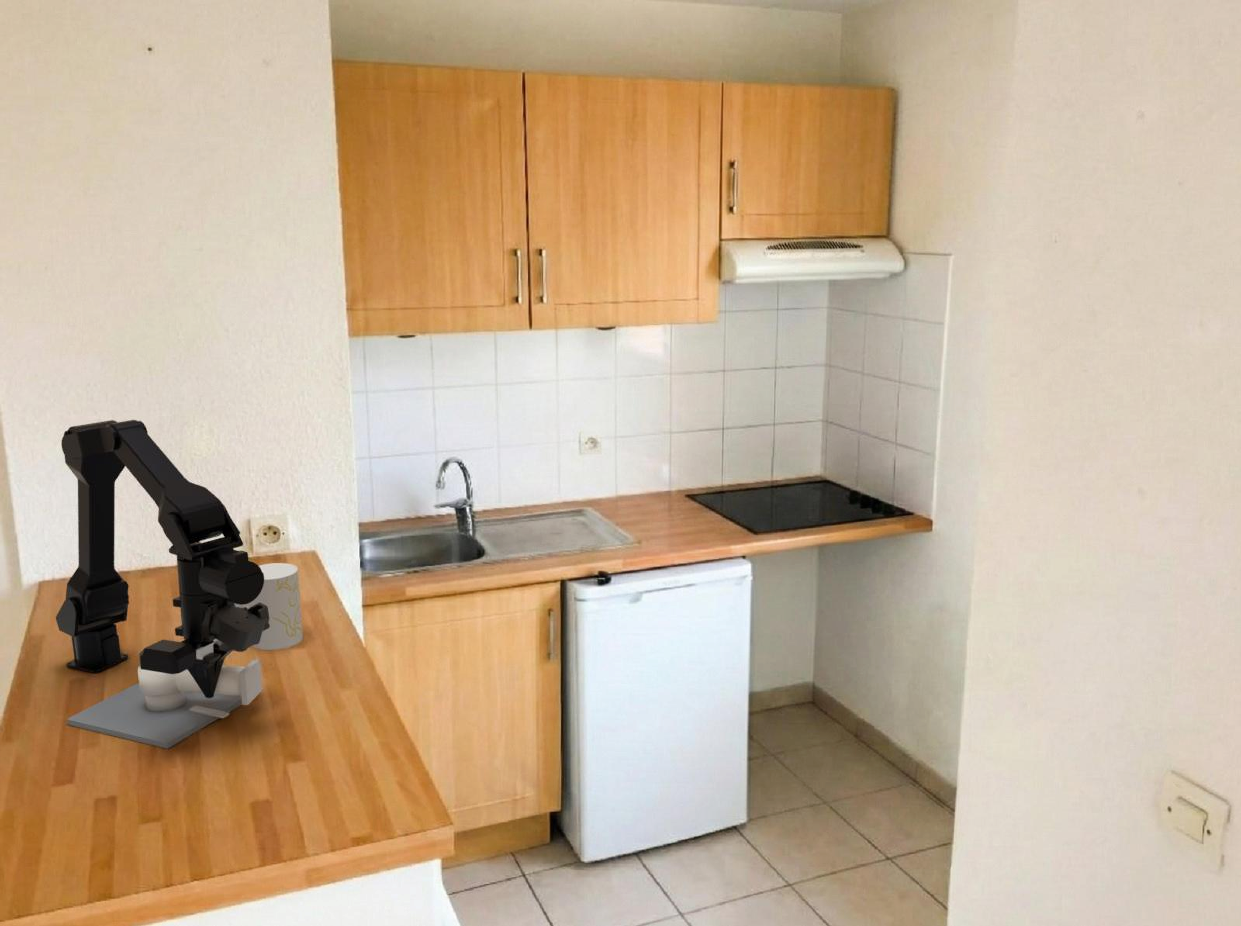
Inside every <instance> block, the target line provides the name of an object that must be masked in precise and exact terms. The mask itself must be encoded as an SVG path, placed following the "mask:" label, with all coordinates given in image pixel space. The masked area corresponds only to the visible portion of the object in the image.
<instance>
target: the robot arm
mask: <svg viewBox="0 0 1241 926" xmlns="http://www.w3.org/2000/svg"><path fill="white" fill-rule="evenodd" d="M147 429H148V428H147V427H146V425H145V424H144V422H143V421H141V420H137V419H129V420H124V421H123V420H122V421H117V420H114V419H111V420H104V421H99V422H93V423H92V422H91V423H87V424H86V423H85V424H80V425H74V426H69V427H68V429H67V430H65V431H64V433H63V435H62V436H63V437H62V438H61V450H62V453H63V454H64V463H65V464H66V466H67V468H69V470H70V471H71V472H72V474H73V475H74V476H75V477H76V479H77V525H78V526H77V530H78V531H77V532H78V543H77V544H78V546H77V548H78V566H77V568H76V570H75V571H74V572H73V574H72V576H70V578H69V580H68V581H67V582H66V583H67V584H66V591H65V599H64V601H63V602H62V605H61V606H60V609H59V610H58V612H57V614H56V616H55V620H56V624H57V627H58V630H59V631H60V632H62V633H64V634H65V635H69V636H70V637H71V644H72V652H73V660H70V661H68V662H66V664H65V665H66V668H71V669H75V670H80V671H85V672H88V673H89V672H90V673H100V672H101V671H104V670H105V669H108V668H109V667H112V666H114V665H116V664H118V663H120V662H122V661H124V660H127V659H128V658H129V654H127V653H123V652H121V644H120V638H119V637H120V635H118V631H117V630H118V627H117V624H119V623H121V622H122V623H123V622H126V621H127V618H128V610H129V605H130V600H129V599H130V595H129V587H130V586H129V584H128V582H127V581H126V580H125V579H123V577H122V576H121V575H120V574H119V572H118V571H117V570H116V569H115V568H116V567H115V527H116V526H115V524H116V523H115V517H116V515H115V511H116V510H115V509H116V507H115V505H116V504H115V501H116V499H115V497H116V496H115V492H116V491H115V489H116V486H115V484H116V481H117V479H118V478H119V476H120V475H121V474H122V472H123V471H124V470H125V468H126V469H127V470H128V471H129V472H130V473H131V475H132V476H133V478H134V479H135V480H136V481H137V482H138V484H140V486H141V487H142V489H143V490H145V492H146V493H147V494H148V495H149V497H150V498H151V499H152V500H153V502H154V503H155V504H156V506H157V508H158V510H157V511H158V513H157V516H158V517H157V522H158V524H159V526H160V527H161V528H162V531H163V533H164V535H165V537H166V538H167V539H168V541H169V542H170V543H171V546H170V547H169V548H168V553H169V554H171V555H175V556H176V564H177V579H178V591H179V596H177V597H175V598H173V599H172V606H173V607H175V608H180V619H181V620H180V622H181V624H180V625H179V626H177V627H175V628H174V632H175V633H174V635H175V636H177V637H183V639H184V640H181V641H176V640H169V639H161V640H159V641H156V642H154V643H152V644H150V645H148V646H146V647H144V648H143V649H142V650H141V651H140V652H139V664H140V665H139V666H140V667H141V669H143V670H149V671H155V672H161V673H167V674H178V673H181V672H183V671H185V670H188V671H189V672H190V674H191V675H192V677H193V678H194V680H195V681H196V683H197V684H198V686H199V688H200V689H201V691H202V692H203V694H204V695H205V697H206V698H212V697H214V692H215V689H216V685H217V682H218V678H219V675H220V671H221V668H222V666H224V662H225V660H226V658H227V657H228V656H229V655H230V654H231V653H232V652H233V651H234V652H239V653H242V652H245V651H247V650H248V649H249V648H251V647H253V645H257V644H258V643H259V642H260V639H261V635H262V632H263V631H265V630H267V629H268V628H269V627H270V625H269V623H268V622H269V612H268V607H267V606H266V605H264V604H262V603H257V604H255V605H253V606H251V607H250V608H249V609H247V608H246V607H244V608H240V607H235V604H239V605H244V604H248V603H250V602H252V601H254V600H255V599H256V598H257V597H258V595H259V594H260V593H261V591H262V588H263V585H264V574H263V573H262V570H261V568H260V567H259V566H260V565H259V564H258V563H256V562H254V561H251V560H249V553H248V552H247V551H245V550H237V549H235V548H240V547H243V546H244V541H243V540H242V538H241V536H240V535H241V531H240V530H239V528H238V526H237V525H236V524H235V522H234V521H233V519H232V518H231V516H230V514H229V512H228V510H227V507H226V506H225V504H224V503H223V502H222V501H221V500H220V498H218V497H217V496H216V495H215V494H214V493H212V492H211V490H209V489H208V488H207V487H205V486H203V485H199V484H196V483H194V482H191V481H189V480H188V479H187V478H186V477H185V476H184V474H182V472H181V471H179V469H178V467H176V465H175V464H174V463H173V462H172V461H171V459H170V458H169V457H168V456H167V455H166V454H165V453H164V451H163V450H162V449H161V448H160V447H159V446H158V445H157V443H156V442H155V441H154V440H153V439H152V437H151V436H150V435H149V433H148V430H147ZM221 535H222V537H220V536H221ZM216 537H218V538H216ZM219 537H220V538H219ZM213 538H214V539H213ZM209 539H212V540H209ZM206 540H208V541H206ZM202 541H204V542H202ZM234 603H235V604H234Z"/></svg>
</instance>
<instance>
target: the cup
mask: <svg viewBox="0 0 1241 926" xmlns="http://www.w3.org/2000/svg"><path fill="white" fill-rule="evenodd" d="M258 566H259V567H260V568H261V570H262V573H263V574H264V585H263V588H262V591H261V593H260V594H259V595H258V597H257V598H256V599H255V600H254V601H252V602H250V603H248V609H249V608H250V607H251V606H253V605H255V604H257V603H262V604H264V605H266V606H267V607H268V612H269V622H268V623H269V625H270V627H269V628H268V629H267V630H265V631H263V632H262V635H261V639H260V642H259V643H258V644H257V645H253V646H252V647H253V648H255V649H257V650H261V651H277V650H284V649H288V648H292V647H294V646H296V645H298V644H299V643H301V642H302V641H303V638H304V636H303V622H302V621H303V620H302V609H301V608H302V607H301V606H302V605H301V595H300V594H301V593H300V580H299V569H298V566H297V565H294V564H292V563H285V562H276V563H274V562H273V563H265V564H261V565H260V564H259V565H258Z"/></svg>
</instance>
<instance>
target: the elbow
mask: <svg viewBox="0 0 1241 926" xmlns="http://www.w3.org/2000/svg"><path fill="white" fill-rule="evenodd" d="M137 676H138V677H137V679H138V683H139V687H140V692H141V693H143V694H145V695H151V696H159V695H167V694H171V693H174V692H177V691H179V692H181V693H199V694H203V692H202V691H201V689H200V688H199V686H198V684H197V683H196V681H195V680H194V678H193V677H192V675H191V674H190V672H189V671H188V670H185V671H183V672H181V673H178V674H167V673H161V672H155V671H149V670H143V669H141V667H140V665H139V666H138V668H137ZM262 677H263V675H262V665H261V658H253V659H252V660H251V661H250V662H249V663H248V664H247V665H246V666H242V665H241V666H238V665H236V666H235V665H222V668H221V671H220V675H219V678H218V682H217V685H216V689H215V692H214V694H218V695H237V696H241V698H242V704H241V705H242V706H248V705H250V703H252V701H253V700H255V699H256V697H257V696H258V695H260V694H261V692H262V691H263V690H264V689H263V678H262ZM259 693H260V694H259Z"/></svg>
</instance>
